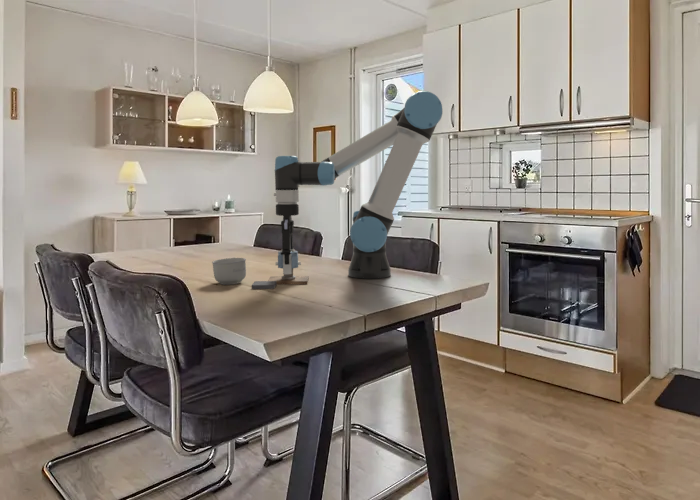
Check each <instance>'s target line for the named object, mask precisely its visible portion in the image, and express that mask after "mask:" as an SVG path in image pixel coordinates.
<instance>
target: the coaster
mask: <svg viewBox="0 0 700 500" xmlns="http://www.w3.org/2000/svg"><path fill="white" fill-rule="evenodd" d="M276 286H278V285H277V284H276V281H268V280H256V281H254V282H253V283H252V284H251V289H252V290H274V289H275V288H276Z"/></svg>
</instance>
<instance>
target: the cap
mask: <svg viewBox="0 0 700 500" xmlns="http://www.w3.org/2000/svg"><path fill="white" fill-rule="evenodd" d="M281 252H282V249H281V250H278V252H277V261H275V266H277V268H278V269H282V270H283V255H281ZM291 265H292V268H293V269H298V268H299V266H301V265H302V261H299V251H298V250H296V249H295V250H291Z"/></svg>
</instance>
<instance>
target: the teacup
mask: <svg viewBox="0 0 700 500" xmlns="http://www.w3.org/2000/svg"><path fill="white" fill-rule="evenodd" d="M246 263H247V262H246V258H244V257H229V258H228V257H227V258H221V259H216V260H213V261H212V262H211V264H212V270H213V278H214V279H215V281H216V282H217V283H219V284H220V285H222V286H223V285H224V286H226V285H227V286H230V285H236V284H240V283H242V282H243V280H244V279H245V278H246V275H247V267H246V266H247V265H246Z"/></svg>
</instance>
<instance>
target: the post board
mask: <svg viewBox="0 0 700 500" xmlns="http://www.w3.org/2000/svg"><path fill="white" fill-rule="evenodd" d="M267 281H276V284H277V285H276V286H278V285H308V283H309V276H308V275H305V276H303V275H301V276H300V275H298V276H297V275H294V268H292V274H283V275H282V276H270V277H269V279H268V280H267Z"/></svg>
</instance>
